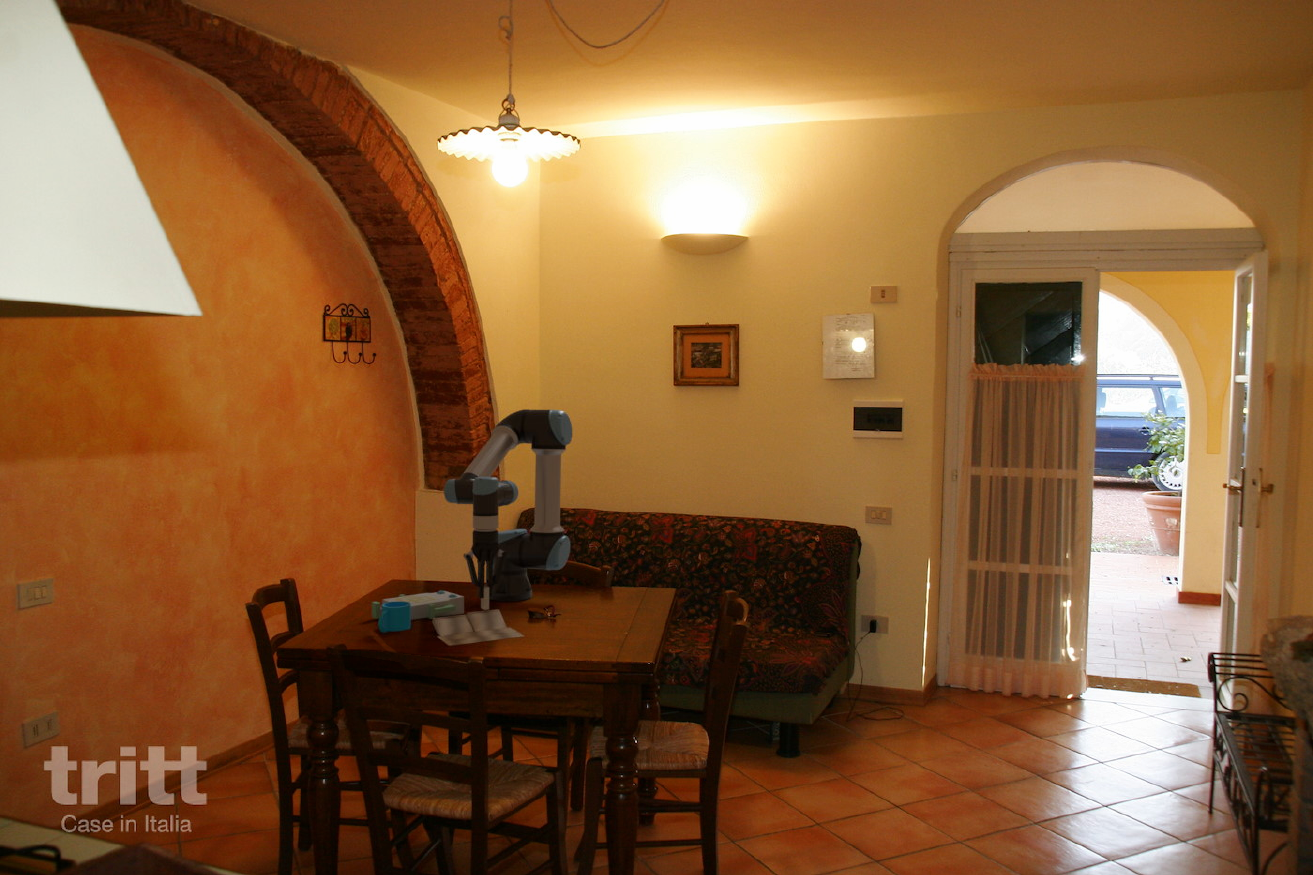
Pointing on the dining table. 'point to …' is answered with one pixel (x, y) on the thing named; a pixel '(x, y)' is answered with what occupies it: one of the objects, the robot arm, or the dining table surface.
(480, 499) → the robot arm
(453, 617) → the plank
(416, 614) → the decorative block
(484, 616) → the grey rectangular panel
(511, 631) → the floor board
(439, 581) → the dining table surface
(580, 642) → the dining table surface
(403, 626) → the mug
